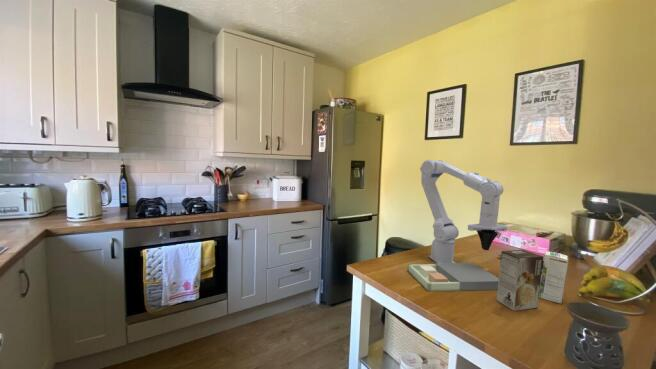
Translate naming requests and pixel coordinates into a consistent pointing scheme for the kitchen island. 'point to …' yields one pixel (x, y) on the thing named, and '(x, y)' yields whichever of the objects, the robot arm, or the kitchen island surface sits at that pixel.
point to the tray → (431, 286)
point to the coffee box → (519, 279)
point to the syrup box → (553, 277)
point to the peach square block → (437, 277)
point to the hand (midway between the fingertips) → (485, 249)
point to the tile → (426, 270)
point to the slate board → (468, 276)
